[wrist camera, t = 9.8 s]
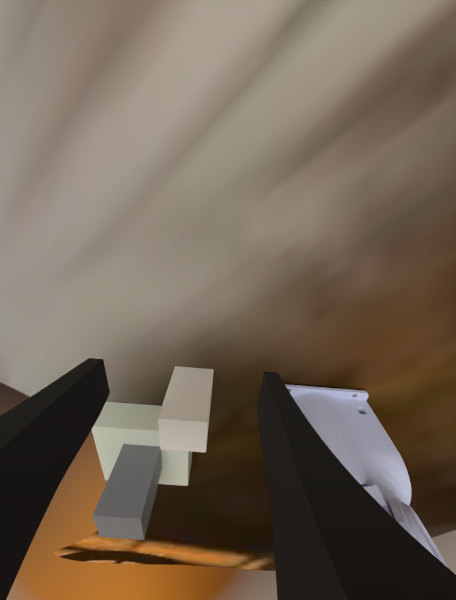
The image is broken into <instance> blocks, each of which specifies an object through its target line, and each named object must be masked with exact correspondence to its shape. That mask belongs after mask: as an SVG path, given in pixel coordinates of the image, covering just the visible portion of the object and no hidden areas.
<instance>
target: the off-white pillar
mask: <svg viewBox="0 0 456 600" xmlns="http://www.w3.org/2000/svg"><path fill="white" fill-rule="evenodd" d="M213 371H214V369H203V368H190V367H177V366H175V368H174V371H173V374H172V377H171V380H170V383H169V386H168V389H167V392H166V395H165V399H164V402H163V405H162V408H161V411H160V414H159V417H158V426H159V440H160V449H164V450H178V451H192V452H206V446H207V436H208V427H209V417H210V407H211V397H212V384H213Z"/></svg>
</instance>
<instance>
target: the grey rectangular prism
mask: <svg viewBox="0 0 456 600" xmlns="http://www.w3.org/2000/svg"><path fill="white" fill-rule="evenodd" d="M161 471H162V456H161V449H160V446H146V445H133V444H123V446H122V448H121V451H120V453H119V455H118V458H117V460H116V462H115V465H114V467H113V470H112V472H111V474H110V477H109V479H108V481H107V484H106V486H105V488H104V491H103V493H102V496H101V498H100V500H99V502H98V505H97V507H96V509H95V512H94V514H93V518H94V521H95V523H96V526H97V529H98V532H99V535H100V537H111V538H126V539H142V540H144V538H145V534H146V530H147V526H148V522H149V518H150V514H151V511H152V507H153V503H154V499H155V495H156V491H157V487H158V483H159V479H160V475H161Z"/></svg>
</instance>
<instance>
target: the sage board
mask: <svg viewBox="0 0 456 600" xmlns="http://www.w3.org/2000/svg"><path fill="white" fill-rule="evenodd" d="M161 408H162V406H158V405H144V404H131V403H118V402H105V405H104V407H103V409H102V411H101V413H100V416H99V417H98V419H97V421H96V423H95V424H94V426H93V428H92V433H93V437H94V440H95V444H96V448H97V451H98V455H99V459H100V463H101V466H102V470H103V474H104V477H105V480H108V479H109V477H110V474H111V472H112V470H113V467H114V465H115V462H116V460H117V458H118V455H119V453H120V451H121V448H122V446H123V444H133V445H146V446H160V440H159V426H158V417H159V414H160V411H161ZM161 456H162V471H161V475H160V479H159V483H158V484H169V485H184V486H188V481H189V475H190V468H191V461H192V451H178V450H164V449H161Z"/></svg>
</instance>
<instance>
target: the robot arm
mask: <svg viewBox="0 0 456 600" xmlns="http://www.w3.org/2000/svg"><path fill="white" fill-rule="evenodd" d="M109 393H110V391H109V386H108V381H107V376H106V371H105V366H104V361H103V359H92V358H89V359H87V360H86V361H84V362H83V363H81V364H80V365H78V366H77V367H75V368H74V369H72V370H71V371H69V372H68V373H66V374H65V375H63V376H62V377H60V378H59V379H57V380H56V381H54V382H53V383H51V384H50V385H48V386H47V387H45V388H44V389H42V390H41V391H39V392H38V393H36V394H35V395H33V396H32V397H30V398H28V399H27V400H25V401H24V402H22V403H20V404H19V405H17V406H16V407H14V408H12V409H11V410H9V411H7V412H6V413H4V414H3V415H1V416H0V600H6V598H7V596H8V594H9V591H10V589H11V587H12V585H13V582H14V580H15V578H16V575H17V573H18V571H19V569H20V567H21V564H22V562H23V560H24V557H25V555H26V553H27V551H28V548H29V546H30V544H31V542H32V540H33V538H34V536H35V533H36V531H37V529H38V527H39V525H40V522H41V520H42V518H43V516H44V514H45V512H46V510H47V508H48V506H49V504H50V502H51V500H52V498H53V496H54V494H55V492H56V490H57V488H58V486H59V484H60V482H61V480H62V478H63V477H64V475H65V473H66V471H67V470H68V468H69V466H70V464H71V463H72V461H73V459H74V458H75V456H76V454H77V453H78V451H79V449H80V448H81V446H82V444H83V443H84V441H85V439H86V438H87V436H88V434H89V433H90V431H91V429H92V428H93V426H94V424H95V423H96V421H97V419H98V417H99V416H100V413H101V411H102V409H103V407H104V405H105V402H106V400H107V398H108V395H109ZM368 396H369V395H368V393H367V392H366V391H363V390H350V389H337V388H325V387H312V386H299V385H286V384H284V382H283V380H282V379H281V377H280V375H279V374H278V373H274V372H264V375H263V380H262V385H261V390H260V395H259V400H258V418H259V430H260V436H261V442H262V448H263V455H264V461H265V467H266V473H267V479H268V485H269V493H270V502H271V513H272V525H273V538H274V552H275V565H276V581H277V596H278V600H456V575H455V574H454V573H453V572H452V571H451V570H450V569H449V568H448V566H447V564H446V563H445V561H444V559H443V557H442V555H441V554H440V552H439V550H438V549H437V547H436V545H435V544H434V542H433V540H432V539H431V537H430V535H429V534H428V532H427V530H426V529H425V527H424V526H423V524H422V522H421V521H420V519H419V518H418V516H417V515H416V513H415V512H414V510H413V509H412V508H411V507H410V506H409V505H410V501H411V484H410V479H409V476H408V472H407V469H406V467H405V464H404V462H403V460H402V458H401V456H400V454H399V452H398V451H397V449H396V447H395V446H394V444H393V443H392V441H391V439H390V438H389V436H388V435H387V433H386V431H385V430H384V428H383V427H382V425H381V423H380V422H379V420H378V419H377V417H376V415H375V414H374V412H373V411H372V409H371V407H370V406H369V404H368V403H367V401H366V400H367V398H368Z"/></svg>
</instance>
